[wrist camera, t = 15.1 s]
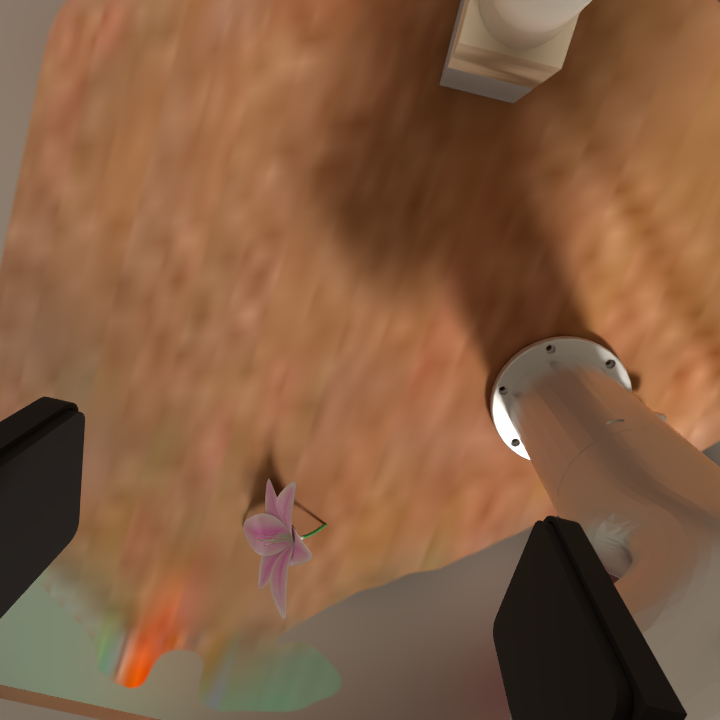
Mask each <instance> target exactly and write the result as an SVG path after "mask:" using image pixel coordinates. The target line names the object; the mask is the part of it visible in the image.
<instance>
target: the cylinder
mask: <svg viewBox="0 0 720 720" xmlns="http://www.w3.org/2000/svg"><path fill="white" fill-rule="evenodd" d="M591 1H592V0H479V8H480V14H481V18H482V20H483V23H484V25H485V27H486V29H487V31H488V32H489V33H490V35H491V36H492V37H493V38H494V39H495V40H496V41H498V42H499V43H501V44H502V45H504V46H506V47H509V48H513V49H531V48H535V47H538V46H540V45H542V44H544V43H546V42H548V41H549V40H550V39H552V38H553V37H554V36H555V35H556V34H557V33H558V32H559V31H560V30H561V29H563V28H564V27H565V26H566V25H567V24H568V23H569V22H570V21H571V20H572V19H573V18H574V17H575V16H576V15H577V14H578V13H579V12H580V11H582V10H583V9H584V8H585V7H586V6H587V5H588V4H589V3H590V2H591Z"/></svg>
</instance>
